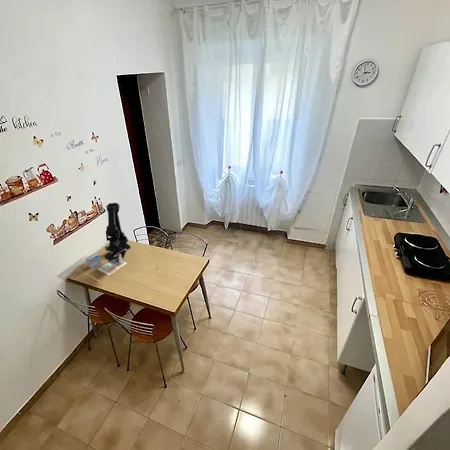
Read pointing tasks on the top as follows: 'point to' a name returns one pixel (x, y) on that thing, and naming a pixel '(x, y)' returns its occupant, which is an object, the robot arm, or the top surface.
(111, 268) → the board with colored squares
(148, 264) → the top surface
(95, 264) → the medicine box
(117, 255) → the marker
